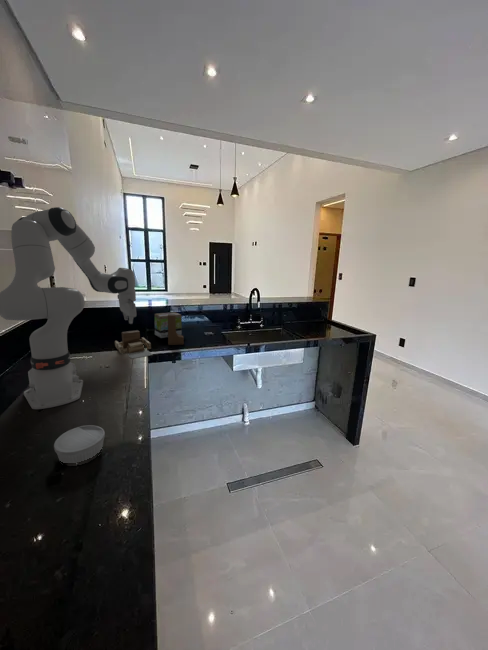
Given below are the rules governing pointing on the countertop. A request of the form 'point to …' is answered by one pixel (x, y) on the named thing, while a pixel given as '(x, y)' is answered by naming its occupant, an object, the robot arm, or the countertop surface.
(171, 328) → the wooden block
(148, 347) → the tray
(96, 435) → the ramekin
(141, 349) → the offcut lower
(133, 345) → the offcut upper
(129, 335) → the dark brown wood block
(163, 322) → the tea box
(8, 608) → the countertop surface
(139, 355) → the mat
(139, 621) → the countertop surface
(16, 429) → the countertop surface
